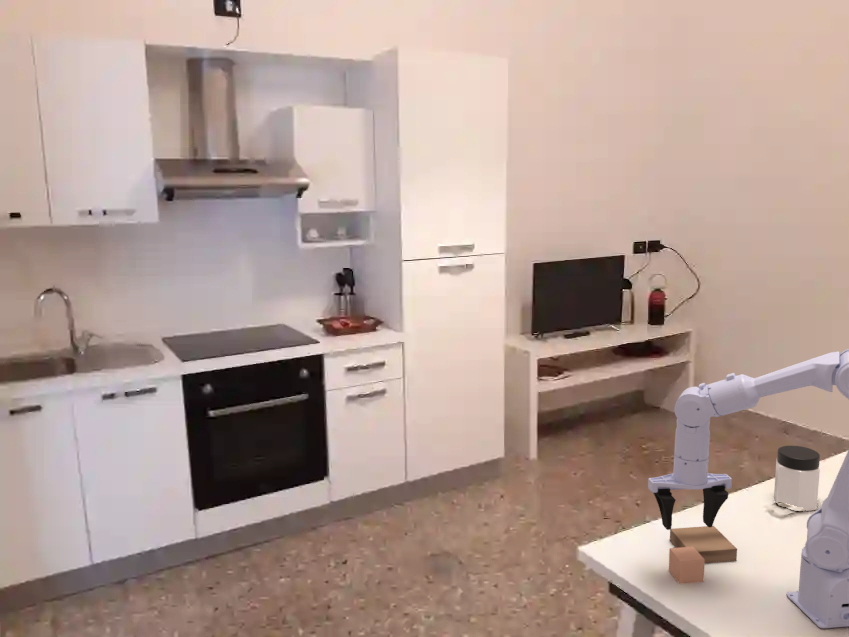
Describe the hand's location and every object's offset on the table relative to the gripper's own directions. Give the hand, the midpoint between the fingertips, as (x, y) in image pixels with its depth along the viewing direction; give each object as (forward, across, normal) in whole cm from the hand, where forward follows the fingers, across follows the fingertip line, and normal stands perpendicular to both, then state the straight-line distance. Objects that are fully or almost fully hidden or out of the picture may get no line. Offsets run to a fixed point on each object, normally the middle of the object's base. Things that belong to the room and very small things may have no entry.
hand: (687, 525), depth 125 cm
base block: (+10, -7, -8) cm, 14 cm away
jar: (+10, -36, -24) cm, 44 cm away
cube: (+10, 0, 0) cm, 10 cm away
